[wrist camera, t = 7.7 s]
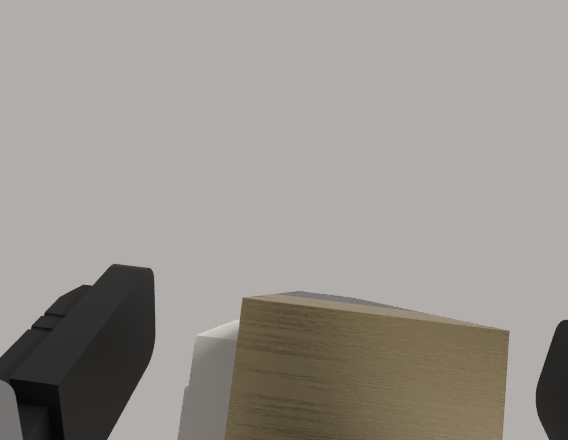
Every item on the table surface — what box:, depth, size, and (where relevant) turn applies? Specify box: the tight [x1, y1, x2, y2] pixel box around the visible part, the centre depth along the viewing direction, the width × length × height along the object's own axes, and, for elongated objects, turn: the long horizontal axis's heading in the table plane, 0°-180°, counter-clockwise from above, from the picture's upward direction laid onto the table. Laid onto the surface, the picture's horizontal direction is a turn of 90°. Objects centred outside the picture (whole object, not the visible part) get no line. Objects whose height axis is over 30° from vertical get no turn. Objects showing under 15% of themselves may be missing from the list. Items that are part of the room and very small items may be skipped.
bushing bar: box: [224, 291, 509, 440], centre depth 17 cm, size 3×23×3 cm, turn 177°
